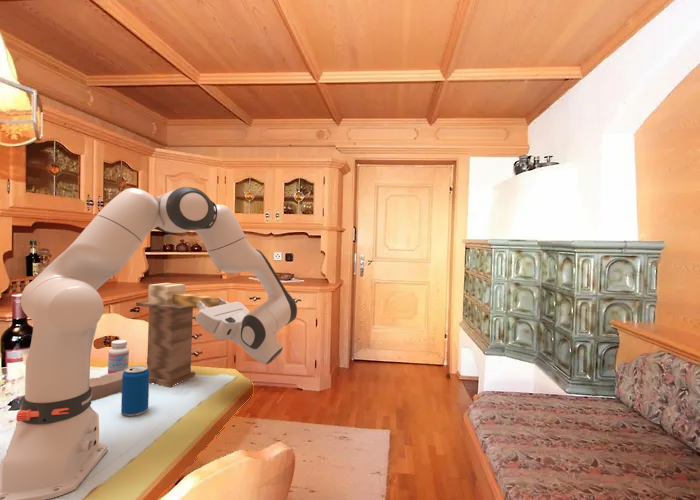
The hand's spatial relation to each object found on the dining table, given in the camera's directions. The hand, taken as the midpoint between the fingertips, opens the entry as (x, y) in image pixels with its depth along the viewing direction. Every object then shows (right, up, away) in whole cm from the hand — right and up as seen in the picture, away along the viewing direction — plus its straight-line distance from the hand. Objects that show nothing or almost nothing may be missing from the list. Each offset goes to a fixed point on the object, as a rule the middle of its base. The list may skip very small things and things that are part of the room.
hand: (207, 300), depth 126 cm
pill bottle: (-34, -27, +9) cm, 44 cm away
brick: (-29, -27, -8) cm, 41 cm away
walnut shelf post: (-15, -27, +5) cm, 32 cm away
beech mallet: (-8, -2, +3) cm, 9 cm away
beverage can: (-13, -28, -20) cm, 37 cm away
